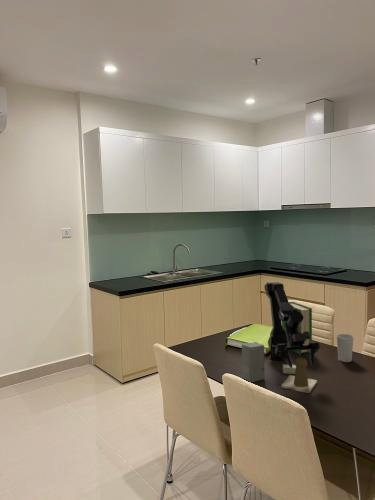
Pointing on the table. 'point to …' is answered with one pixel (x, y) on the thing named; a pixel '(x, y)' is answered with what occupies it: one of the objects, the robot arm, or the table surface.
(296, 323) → the robot arm
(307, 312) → the hardback book
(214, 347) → the table surface
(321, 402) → the table surface
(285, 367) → the soap bar
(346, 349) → the cup
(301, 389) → the board
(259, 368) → the skincare box
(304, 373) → the cork
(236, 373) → the table surface
